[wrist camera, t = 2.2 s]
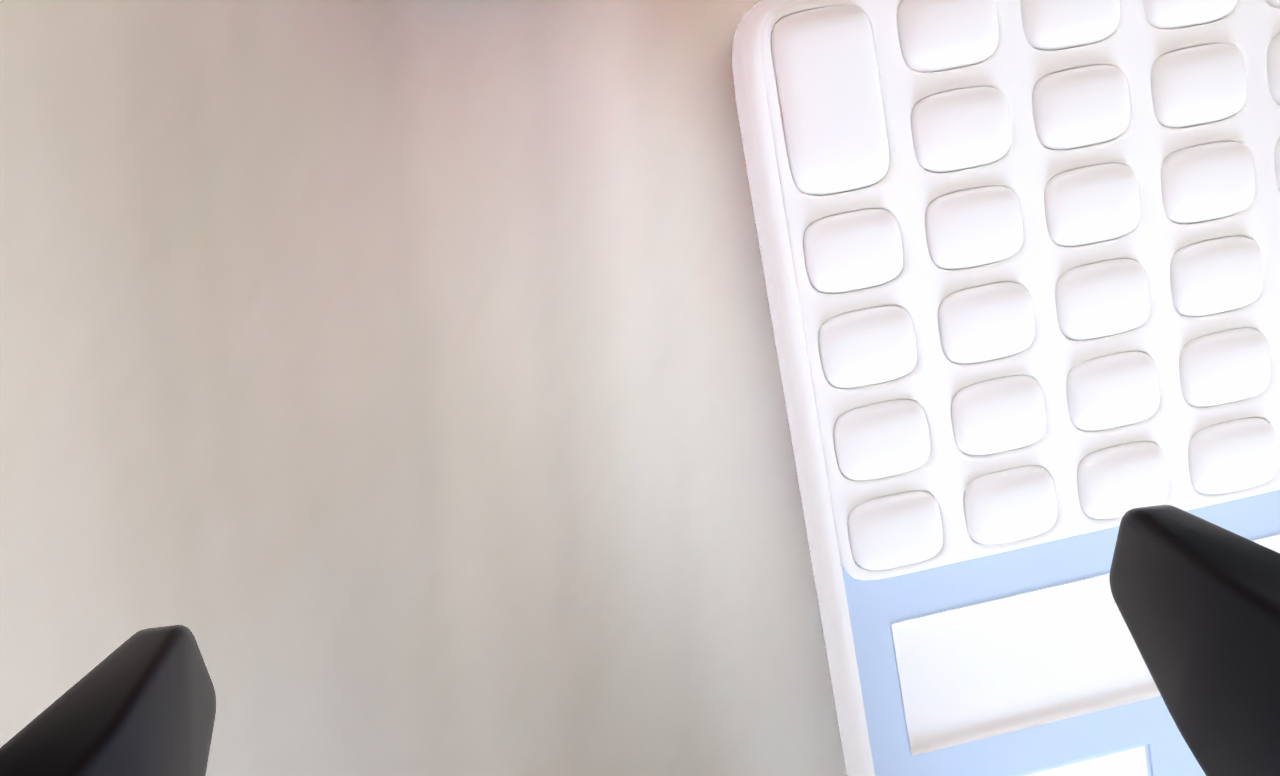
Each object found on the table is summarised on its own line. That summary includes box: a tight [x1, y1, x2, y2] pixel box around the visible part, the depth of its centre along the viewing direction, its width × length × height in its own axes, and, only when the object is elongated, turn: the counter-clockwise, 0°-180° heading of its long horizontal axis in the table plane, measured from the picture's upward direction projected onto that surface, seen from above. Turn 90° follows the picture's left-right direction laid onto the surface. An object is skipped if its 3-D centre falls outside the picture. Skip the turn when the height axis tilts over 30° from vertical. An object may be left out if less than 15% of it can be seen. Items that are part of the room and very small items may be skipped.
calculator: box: [732, 0, 1280, 776], centre depth 21 cm, size 13×20×2 cm, turn 11°
